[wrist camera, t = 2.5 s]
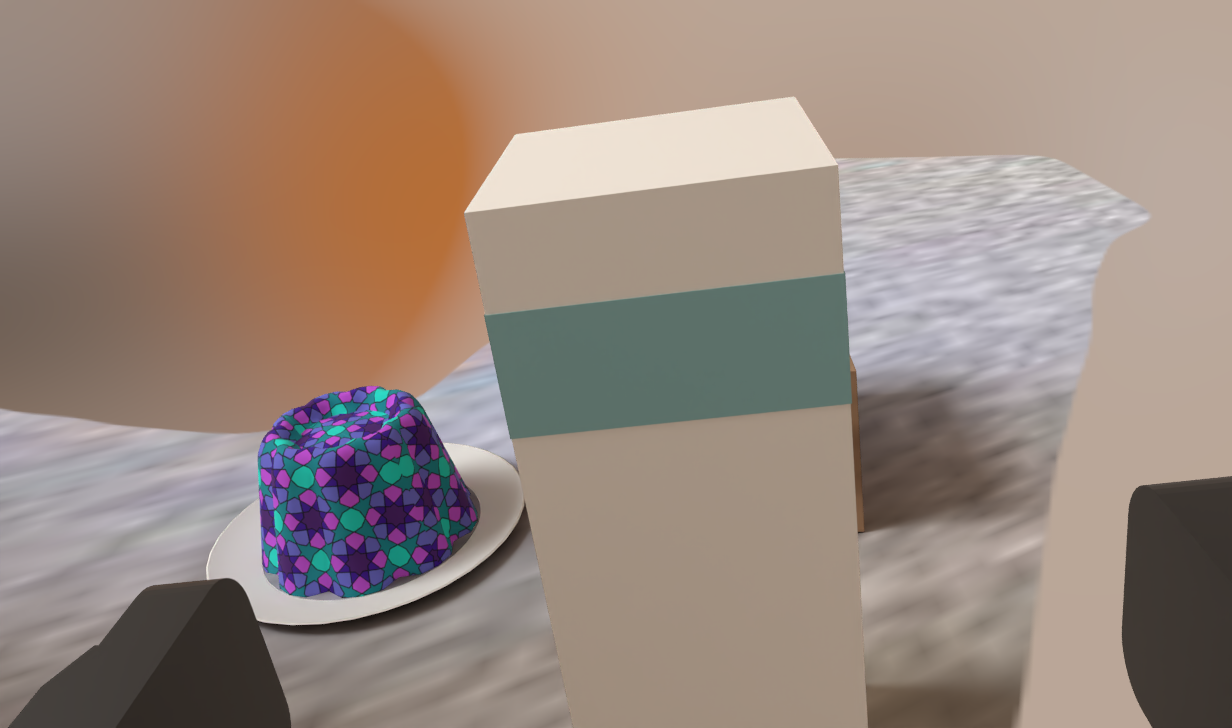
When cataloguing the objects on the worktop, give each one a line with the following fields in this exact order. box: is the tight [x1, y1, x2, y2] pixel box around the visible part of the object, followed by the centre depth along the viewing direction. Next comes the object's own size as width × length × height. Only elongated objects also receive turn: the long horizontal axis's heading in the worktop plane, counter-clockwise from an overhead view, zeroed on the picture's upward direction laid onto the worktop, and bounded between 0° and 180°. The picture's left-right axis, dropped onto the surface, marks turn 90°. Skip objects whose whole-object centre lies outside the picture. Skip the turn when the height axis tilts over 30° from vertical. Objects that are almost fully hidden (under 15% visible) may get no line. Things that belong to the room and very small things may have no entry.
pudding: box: [206, 386, 525, 625], centre depth 37 cm, size 12×12×5 cm
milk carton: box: [464, 97, 868, 728], centre depth 22 cm, size 6×6×16 cm
